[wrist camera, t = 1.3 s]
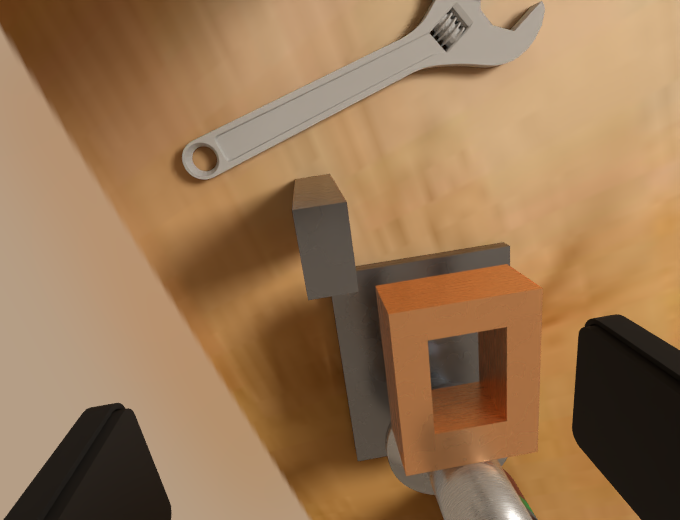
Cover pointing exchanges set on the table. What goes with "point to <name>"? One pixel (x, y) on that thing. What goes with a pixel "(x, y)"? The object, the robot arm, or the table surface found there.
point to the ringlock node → (445, 374)
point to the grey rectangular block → (324, 237)
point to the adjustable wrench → (372, 78)
